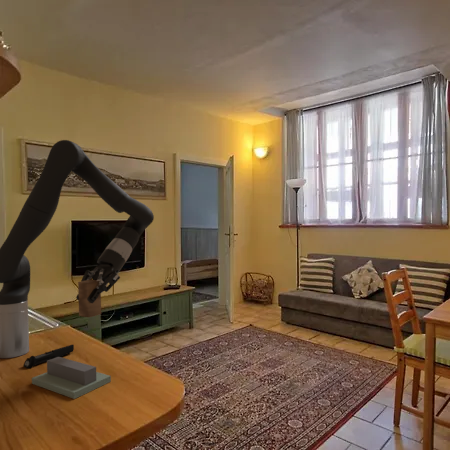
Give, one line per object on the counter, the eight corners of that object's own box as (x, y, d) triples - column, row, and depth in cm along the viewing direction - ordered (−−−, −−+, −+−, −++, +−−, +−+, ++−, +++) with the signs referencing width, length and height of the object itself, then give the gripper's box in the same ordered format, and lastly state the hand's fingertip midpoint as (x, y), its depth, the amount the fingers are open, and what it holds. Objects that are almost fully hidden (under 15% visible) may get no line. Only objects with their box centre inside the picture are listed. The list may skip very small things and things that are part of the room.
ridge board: (31, 383, 97) (31, 364, 97) (68, 369, 106) (68, 351, 106) (74, 398, 87) (73, 378, 87) (110, 381, 96) (110, 362, 96)
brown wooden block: (79, 315, 107) (78, 281, 107) (91, 312, 110) (90, 279, 110) (88, 317, 104) (87, 282, 104) (101, 314, 108) (100, 280, 108)
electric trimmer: (76, 354, 120) (76, 344, 120) (28, 369, 107) (28, 359, 107) (70, 352, 122) (70, 343, 122) (22, 367, 109) (22, 356, 109)
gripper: (93, 247, 117) (60, 291, 107) (124, 248, 110) (92, 295, 100) (107, 262, 122) (76, 305, 112) (137, 264, 115) (108, 310, 104)
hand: (84, 300), depth 106 cm, fingers closed on brown wooden block, 4 cm apart
